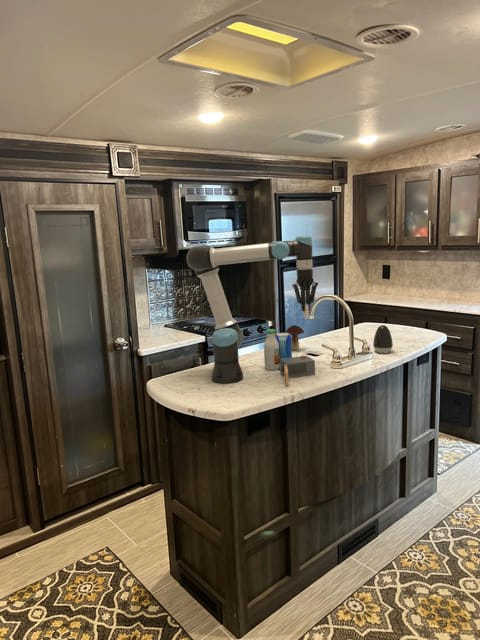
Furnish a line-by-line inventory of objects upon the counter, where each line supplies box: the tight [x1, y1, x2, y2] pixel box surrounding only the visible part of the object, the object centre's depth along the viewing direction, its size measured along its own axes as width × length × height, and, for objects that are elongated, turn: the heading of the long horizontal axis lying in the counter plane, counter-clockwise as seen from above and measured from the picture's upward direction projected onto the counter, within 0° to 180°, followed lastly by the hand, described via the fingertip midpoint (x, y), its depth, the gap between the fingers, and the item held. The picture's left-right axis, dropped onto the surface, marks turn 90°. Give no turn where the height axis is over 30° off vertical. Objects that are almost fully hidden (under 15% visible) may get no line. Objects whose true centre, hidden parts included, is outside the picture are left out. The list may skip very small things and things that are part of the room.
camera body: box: [278, 355, 316, 379], centre depth 225 cm, size 15×10×8 cm, turn 104°
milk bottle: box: [263, 328, 280, 371], centre depth 235 cm, size 8×8×20 cm
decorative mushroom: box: [284, 324, 305, 352], centre depth 268 cm, size 11×11×15 cm
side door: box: [283, 364, 289, 386], centre depth 212 cm, size 12×2×6 cm, turn 178°
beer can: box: [275, 332, 293, 359], centre depth 242 cm, size 8×8×16 cm
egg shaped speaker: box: [372, 324, 394, 354], centre depth 254 cm, size 10×10×15 cm
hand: (306, 317), depth 226 cm, fingers closed
